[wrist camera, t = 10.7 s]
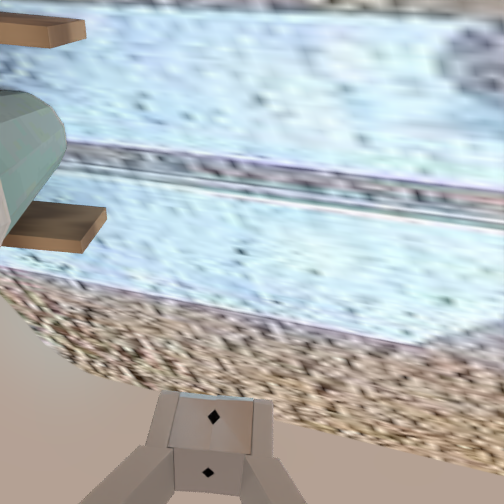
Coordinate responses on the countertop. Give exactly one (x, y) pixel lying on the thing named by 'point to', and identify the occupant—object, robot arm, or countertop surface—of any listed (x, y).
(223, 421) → the robot arm
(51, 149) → the disposable coffee cup
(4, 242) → the dock cradle
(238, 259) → the countertop surface
